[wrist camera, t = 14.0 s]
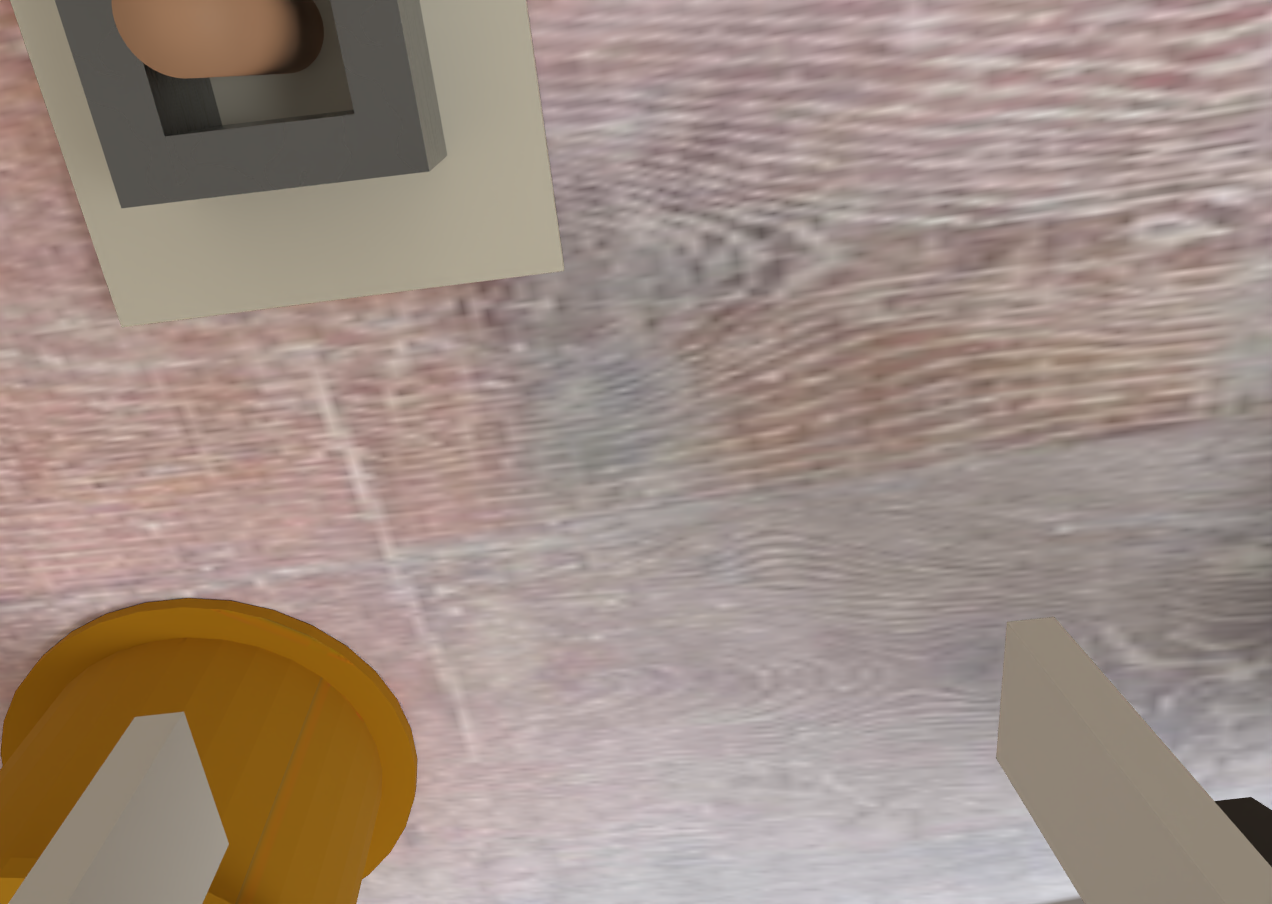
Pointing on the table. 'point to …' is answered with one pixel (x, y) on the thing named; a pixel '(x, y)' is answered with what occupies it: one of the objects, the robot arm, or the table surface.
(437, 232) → the keeper board
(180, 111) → the steel link
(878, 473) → the table surface
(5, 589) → the table surface
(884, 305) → the table surface
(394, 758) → the spool
